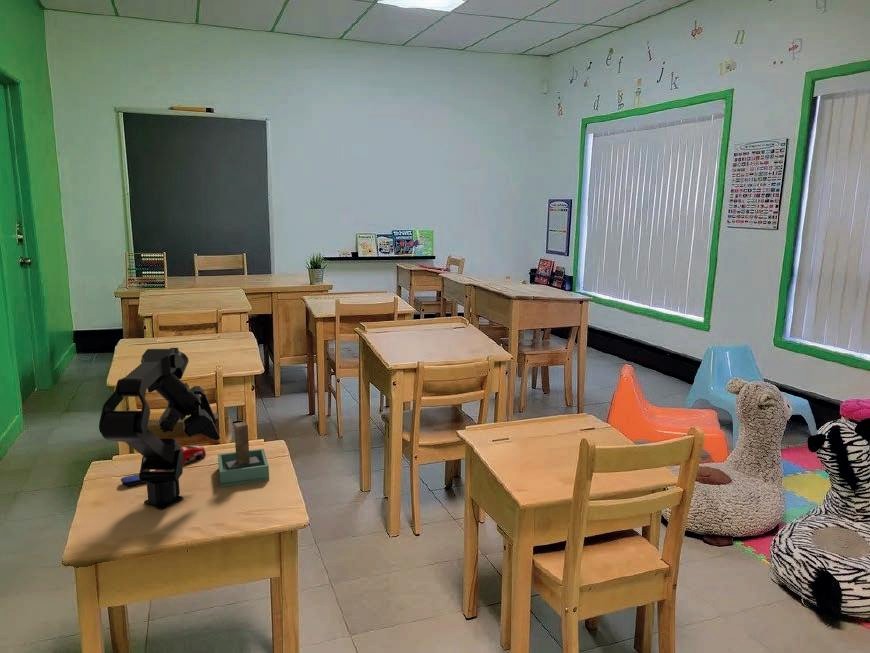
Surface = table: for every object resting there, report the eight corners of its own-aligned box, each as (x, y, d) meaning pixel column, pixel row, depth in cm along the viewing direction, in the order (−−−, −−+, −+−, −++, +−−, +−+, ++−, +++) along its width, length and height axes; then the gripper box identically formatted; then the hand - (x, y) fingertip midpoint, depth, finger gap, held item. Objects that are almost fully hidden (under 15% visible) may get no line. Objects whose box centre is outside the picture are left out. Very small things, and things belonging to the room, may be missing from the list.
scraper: (229, 476, 167) (227, 429, 164) (226, 470, 170) (223, 424, 168) (260, 470, 171) (258, 424, 168) (256, 464, 174) (254, 419, 172)
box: (269, 480, 168) (268, 465, 167) (220, 486, 163) (220, 472, 163) (264, 462, 179) (263, 448, 178) (218, 468, 174) (217, 454, 174)
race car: (164, 474, 171) (163, 460, 170) (154, 468, 175) (153, 454, 174) (209, 458, 181) (208, 445, 180) (198, 453, 185) (197, 440, 184)
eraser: (166, 474, 171) (165, 467, 171) (169, 479, 168) (169, 473, 168) (119, 483, 165) (119, 476, 165) (122, 489, 162) (122, 482, 161)
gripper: (147, 396, 166) (188, 434, 173) (147, 429, 150) (193, 469, 157) (182, 368, 167) (222, 407, 175) (186, 398, 151) (230, 440, 159)
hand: (216, 430), depth 166 cm, fingers open, 9 cm apart
